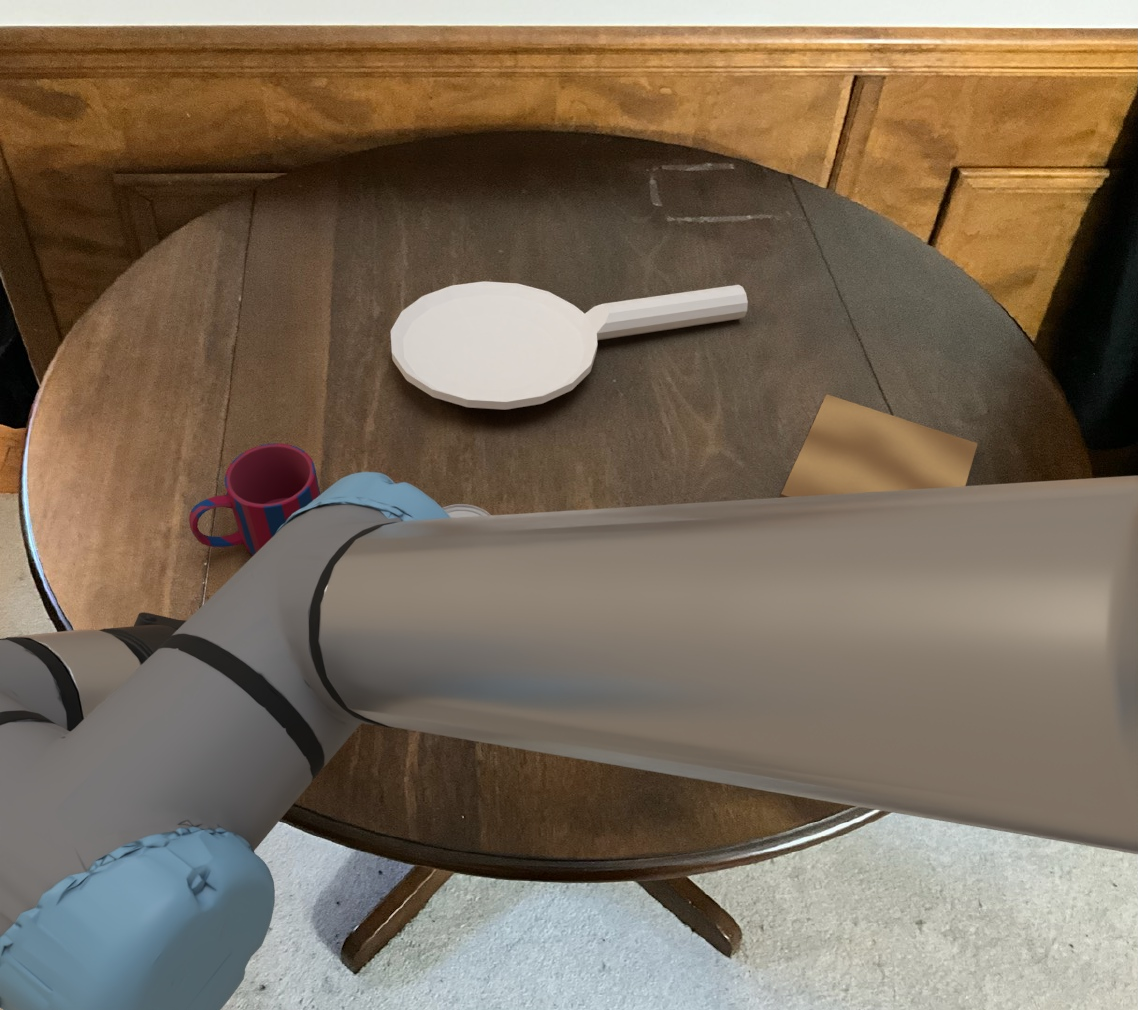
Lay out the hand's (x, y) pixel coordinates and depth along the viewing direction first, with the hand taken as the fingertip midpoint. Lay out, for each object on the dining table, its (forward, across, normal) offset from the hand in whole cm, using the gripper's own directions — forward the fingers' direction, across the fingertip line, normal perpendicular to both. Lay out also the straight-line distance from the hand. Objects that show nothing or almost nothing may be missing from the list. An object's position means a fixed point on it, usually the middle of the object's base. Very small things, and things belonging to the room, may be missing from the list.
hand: (383, 662), depth 69 cm
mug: (+9, -19, -1) cm, 21 cm away
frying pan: (+33, -13, +24) cm, 43 cm away
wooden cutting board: (+35, +18, +26) cm, 47 cm away
